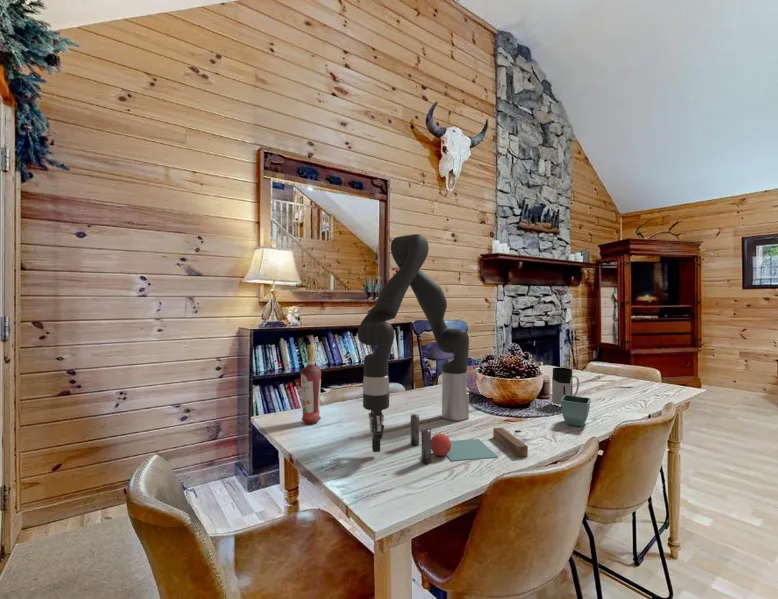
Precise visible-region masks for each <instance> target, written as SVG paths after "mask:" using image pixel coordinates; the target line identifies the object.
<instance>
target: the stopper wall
mask: <svg viewBox="0 0 778 599" xmlns="http://www.w3.org/2000/svg"><path fill="white" fill-rule="evenodd" d="M492 433H493V434H492V435H493V436H492V437H493V439H495V440H496V441H497V442H498V443H500V444H501V445H502V446H504V447H505V448H506V449H507V450H508V451H509V452H511V454H513V455H515V457H517V458H528V450H529V449H528V448H529V446H528V445H526V443H524V442H523V441H522V440H520V439H518V438H517V437H516V436H515V435H513V434H512V433H510V432H509V431H508V430H507V429H505V428H504V427H493V432H492Z"/></svg>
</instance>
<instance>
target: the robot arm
mask: <svg viewBox="0 0 778 599" xmlns="http://www.w3.org/2000/svg"><path fill="white" fill-rule="evenodd" d="M429 249H430V248H429V242H428V239H427V238H426V237H425V236H424V235H423V234H421V233H420V234H419V233H415V234H413V233H412V234H408V235H401V236H396V237H395V238H393V239H392V240H391V243H390V253H391V256H392V258H393V260H394V262H395V264H396V265H397V267H398V268H399V270H398V271H397V272H396V273H395V274H394V275H393V276H391V278H390V279H389V280H388V281H387V282H386V283H385V284H384V285H383V287H382V288H381V290H380V292H379V295H378V297H377V299H376V301H375V304H374V306H373V307H372V308H371V309H370V310H369V312H368V313H367V314H366V315H365V317H364V318H363V319H362V320H361V322H360V325H359V327H358V329H357V337H358V340H359V342H360V343H361V344H363V345H366V346H373V347H375V350H374V352H373V353H369V354H367V355H365V356H364V358H363V381H362V407H363V409H364V410H368V411H370V412H369V413H368V419H369V430H370V436H371V449H372V452H373V453H380V452H381V440H382V439H383V435H384V429H385V425H384V421H385V416H384V414H383V412H382V411H383V410H384V411H385V410H387V409H389V407H390V380H389V360H390V356H391V352H392V347H393V344H394V341H395V330H394V327H393V326H392V324H391V323H389V322H388V321H391V320H393V319H395V318H396V316H397V314H398V313H399V312H398V311H399V310H400V307H401V305H402V302H403V299H404V297H405V295H406V293H407V291H408V288H409V287H410V288H411V290H412V292H413V294H414V296H415V297H416V300H417V303H418V304H419V306H420V309H421V310H422V312H423V313H424V315H425V317H426V320H427V322H428V324H429V327H430V328H431V331H432V334H433V337H434V340H435V342H436V344H437V347H438V348H439V350H440V351H441V352H443V353H447V354H453V359H452V360H450V361H446V362H444V363H442V366H441V417H442V418H443V419H445V420H447V421H456V422H458V421H465V420H468V419H469V418H470V415H469V414H470V412H469V411H470V409H469V408H470V407H469V406H470V398H469V397H470V396H469V395H470V394H469V392H468V390H467V389H468V388H467V366H469V351H470V350H469V349H470V337H469V334H468V331H467V330H466V329H460V328H450V327H448V326H447V325H446V321H445V320H444V319H445V318H444V317H445V314H446V312H447V307H448V303H447V299H446V296H445V293H444V292H443V289H442V287H441V286H440V285H439V283H438V282H437V281H436V280H434V278H432V277H431V276H430V275H428V274H427V273H426V272H424V271H423V270H422V266H423V265H424V263H425V261H426V260H427V257H428V255H429Z"/></svg>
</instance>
